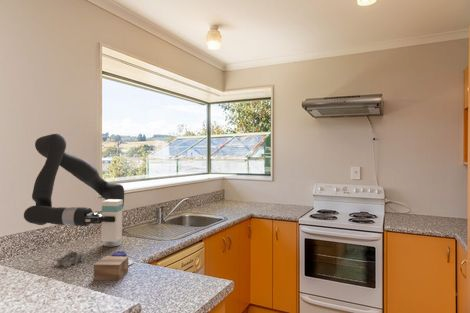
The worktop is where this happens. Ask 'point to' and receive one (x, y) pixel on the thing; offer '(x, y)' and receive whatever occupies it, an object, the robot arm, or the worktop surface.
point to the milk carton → (112, 229)
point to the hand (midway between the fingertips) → (118, 217)
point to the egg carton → (69, 259)
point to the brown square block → (110, 268)
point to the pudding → (122, 254)
